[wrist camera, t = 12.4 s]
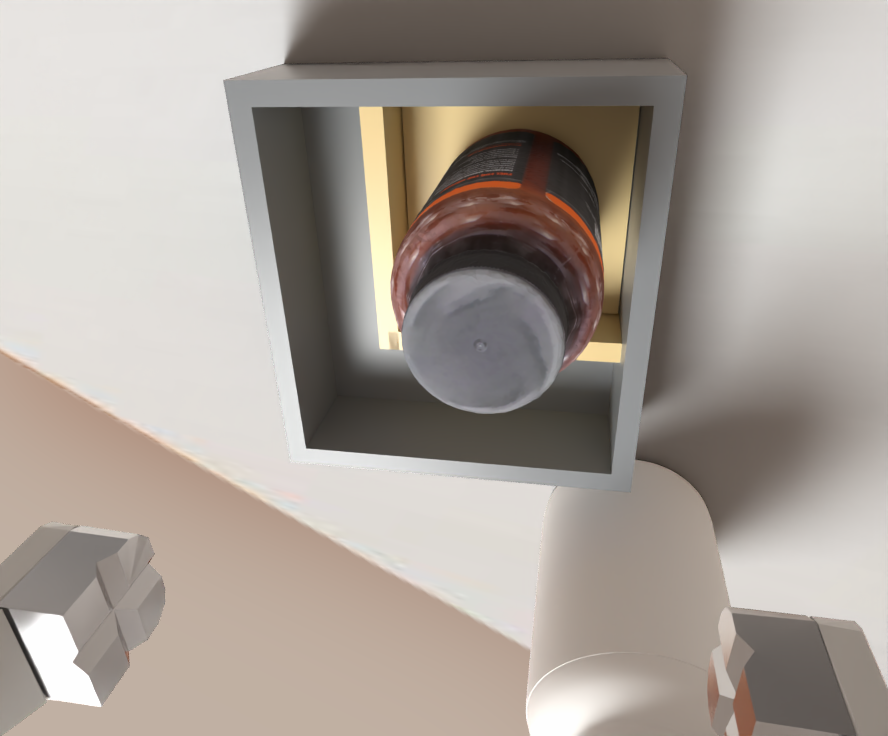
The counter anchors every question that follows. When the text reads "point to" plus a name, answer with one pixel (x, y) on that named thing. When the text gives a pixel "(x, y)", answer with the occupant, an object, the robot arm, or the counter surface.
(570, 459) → the walled box
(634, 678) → the pill bottle
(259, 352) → the counter surface
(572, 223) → the supplement bottle
